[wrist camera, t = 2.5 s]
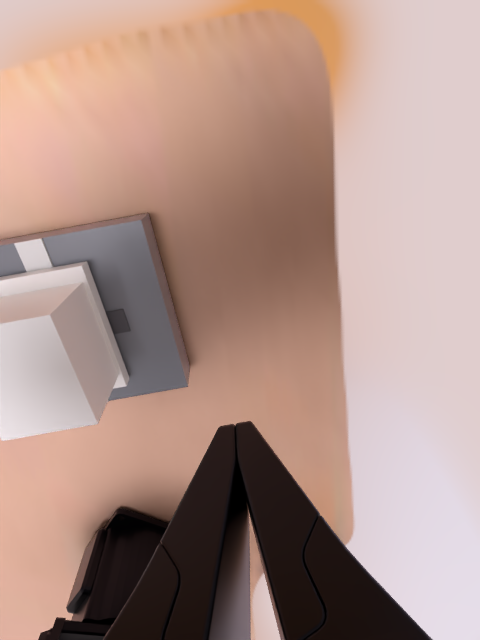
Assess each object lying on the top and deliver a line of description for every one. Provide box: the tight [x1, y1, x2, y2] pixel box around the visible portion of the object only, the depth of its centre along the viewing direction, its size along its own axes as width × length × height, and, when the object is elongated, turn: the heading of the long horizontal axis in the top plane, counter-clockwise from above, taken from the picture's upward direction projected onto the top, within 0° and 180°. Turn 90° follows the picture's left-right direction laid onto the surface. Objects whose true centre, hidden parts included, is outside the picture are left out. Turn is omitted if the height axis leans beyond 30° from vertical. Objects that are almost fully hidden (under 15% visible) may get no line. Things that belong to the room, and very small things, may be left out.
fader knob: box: [0, 261, 129, 441], centre depth 15 cm, size 4×6×4 cm
